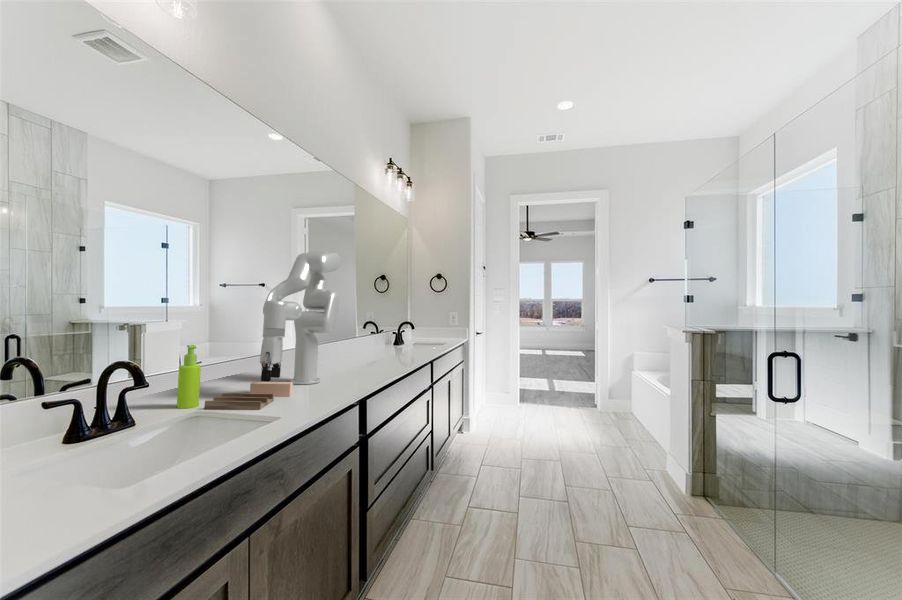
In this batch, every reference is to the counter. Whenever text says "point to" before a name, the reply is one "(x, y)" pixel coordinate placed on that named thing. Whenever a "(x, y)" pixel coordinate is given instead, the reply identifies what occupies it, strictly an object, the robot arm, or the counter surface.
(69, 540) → the counter surface
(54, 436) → the counter surface
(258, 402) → the drying rack
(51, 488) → the counter surface
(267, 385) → the pink rectangular block
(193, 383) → the soap dispenser
